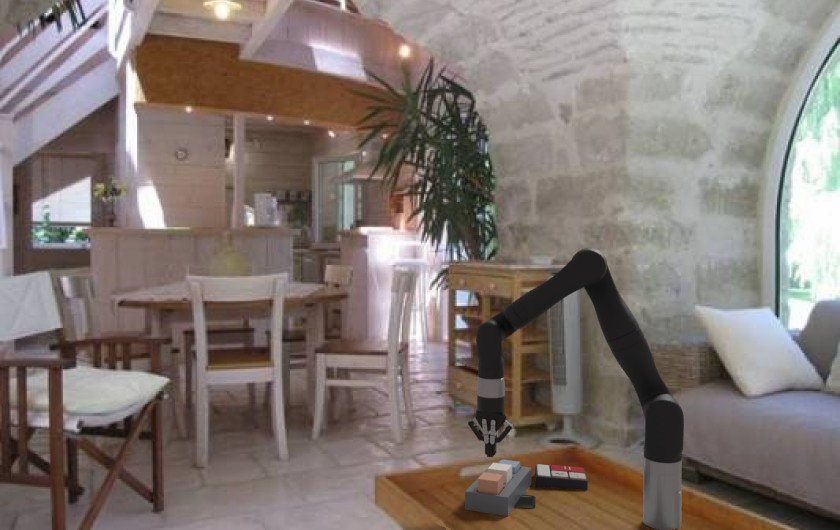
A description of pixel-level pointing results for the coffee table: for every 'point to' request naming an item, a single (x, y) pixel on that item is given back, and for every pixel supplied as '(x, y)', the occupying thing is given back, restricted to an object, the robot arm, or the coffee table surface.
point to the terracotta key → (490, 483)
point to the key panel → (505, 499)
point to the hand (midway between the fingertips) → (490, 456)
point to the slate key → (514, 465)
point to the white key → (502, 471)
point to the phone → (526, 501)
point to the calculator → (560, 477)
